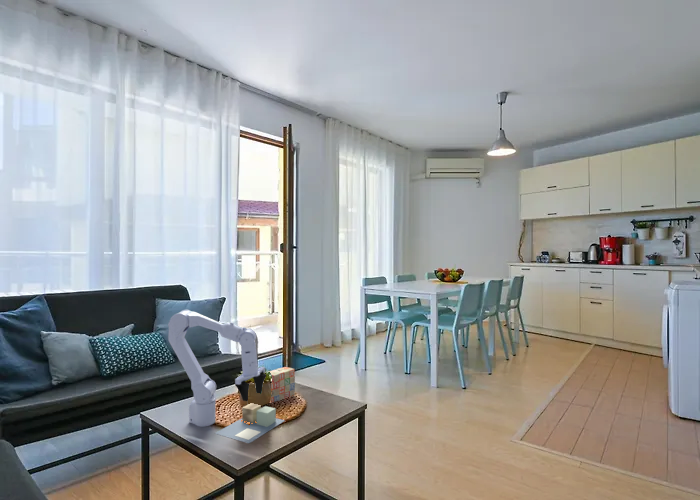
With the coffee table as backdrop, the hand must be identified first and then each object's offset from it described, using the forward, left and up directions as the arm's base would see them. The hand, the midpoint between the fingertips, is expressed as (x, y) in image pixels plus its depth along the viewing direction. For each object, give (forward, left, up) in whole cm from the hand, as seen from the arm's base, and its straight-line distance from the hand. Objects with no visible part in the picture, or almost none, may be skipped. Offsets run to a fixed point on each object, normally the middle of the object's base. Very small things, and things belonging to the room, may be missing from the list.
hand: (252, 396), depth 153 cm
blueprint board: (+4, -5, -10) cm, 11 cm away
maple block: (0, 0, -9) cm, 9 cm away
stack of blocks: (-7, +20, -10) cm, 23 cm away
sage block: (+7, 0, -9) cm, 11 cm away
